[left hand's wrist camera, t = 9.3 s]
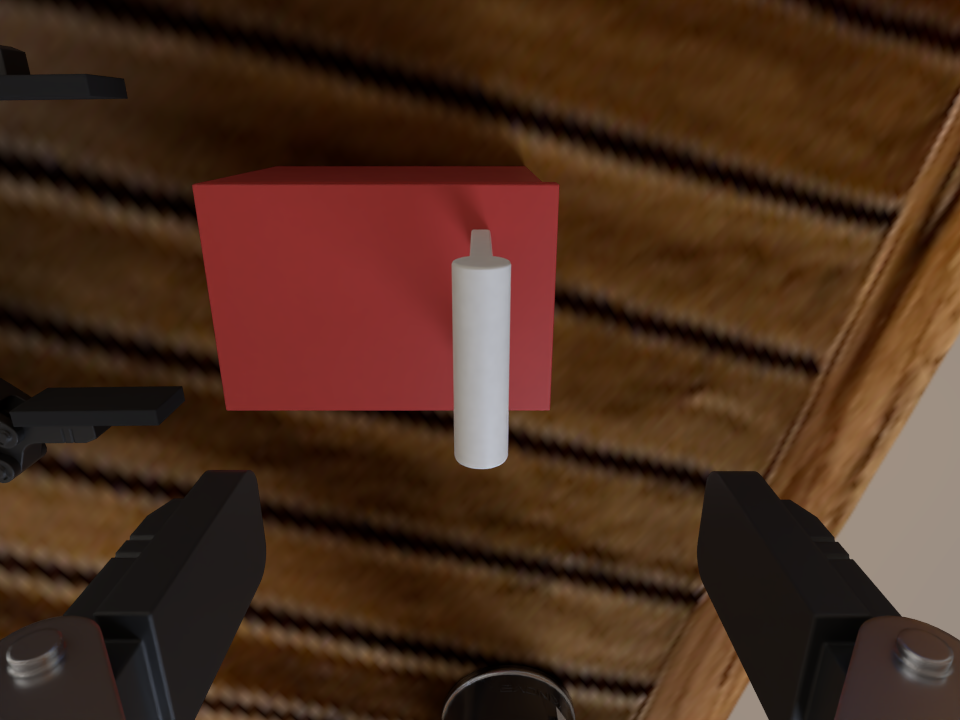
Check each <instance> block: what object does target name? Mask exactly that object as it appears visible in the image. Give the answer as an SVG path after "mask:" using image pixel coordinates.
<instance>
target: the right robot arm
mask: <svg viewBox="0 0 960 720" xmlns="http://www.w3.org/2000/svg"><path fill="white" fill-rule="evenodd" d="M60 99H128V98H127V92H126V87H125V82H124V79H122V78H114V77H106V76H98V75H90V74H50V75H30V71H29V67H28V63H27V58H26V54H25V52H23V51H20V50H18V49H15V48H13V47H8V46H2V45H0V100H60ZM184 401H185V398H184V393H183V388H182V386H169V387H83V388H47V389H45V390H44V391H42V392H40V393H39V394H37V395H35V396H34V397H30V396H29V395H27V394H25V393H24V392H22V391H21V390H19V389H17V388H16V387H14V386H13V385H11V384H10V383H8V382H6V381H5V380H3V379H2V378H0V482H1V483H7V482H10V481H11V480H13V479H14V478H15V477H17V476H18V475H19V474H21V473H22V472H23V471H24V470H26V469H27V468H28V467H30V466H31V465H32V464H34V463H35V462H36V461H38V460H39V459H40V458H41V457H43V456H44V455H45V454H46V452H47V447H46V445H45V443H65V442H66V443H73V442H75V443H87V442H89V441H92V440H94V439H96V438H98V437H99V436H100V435H101V434H102V433H104V432H105V431H106V430H107V429H109V428H110V427H111V426H134V425H160V424H161V423H162V422H163V421H164V420H165V419H166V418H167V417H168V416H169V415H170V414H171V413H172V412H173V411H174V410H175V409H176V408H178V407H179V406H180V405H181V404H182V403H183V402H184ZM8 417H9V418H8Z"/></svg>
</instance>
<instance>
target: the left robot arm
mask: <svg viewBox="0 0 960 720" xmlns="http://www.w3.org/2000/svg"><path fill="white" fill-rule="evenodd" d="M697 560H698V568H699V573H700V577H701V580H702V582H703V585H704V587H705V589H706V591H707V593H708V595H709V597H710V599H711V601H712V603H713V605H714V607H715V609H716V611H717V613H718V616H719V618H720V620H721V622H722V624H723V626H724V628H725V630H726V632H727V634H728V636H729V638H730V640H731V642H732V644H733V647H734V649H735V651H736V653H737V655H738V657H739V659H740V661H741V663H742V665H743V667H744V669H745V671H746V673H747V675H748V678H749V680H750V682H751V684H752V686H753V688H754V690H755V692H756V694H757V696H758V698H759V700H760V702H761V704H762V706H763V708H764V710H765V713H766V715H767V717H768V719H769V720H960V640H958V639H957V638H955V637H953V636H952V635H950V634H948V633H947V632H945V631H943V630H941V629H939V628H937V627H934V626H932V625H930V624H927V623H924V622H921V621H918V620H915V619H911V618H906V617H902V616H901V615H900V614H899V613H898V612H897V610H896V609H895V608H894V607H893V606H892V605H891V603H890V602H889V601H888V600H887V599H886V598H885V596H884V595H883V594H882V593H881V592H880V591H879V589H878V588H877V587H876V586H875V585H874V583H873V582H872V581H871V580H870V579H869V578H868V576H867V575H866V574H865V573H864V572H863V571H862V569H861V568H860V567H859V566H858V565H857V564H856V562H855V561H854V560H853V559H849V554H848V553H847V552H846V551H845V550H844V548H843V547H842V546H841V545H840V544H839V542H835V540H834V537H833V535H832V534H831V533H830V532H829V531H828V530H827V528H826V527H825V526H824V525H823V524H822V523H821V521H820V520H819V519H818V518H817V517H816V516H814V515H813V514H811V513H810V512H808V511H807V510H805V509H803V508H802V507H800V506H799V505H797V504H796V503H794V502H793V501H791V500H780V499H779V498H778V496H777V495H776V494H775V493H774V491H773V490H772V489H771V488H770V486H769V485H768V484H767V482H766V481H765V480H764V479H763V477H762V476H761V475H760V474H759V473H758V472H755V471H713V472H711V473H710V474H709V476H708V479H707V482H706V488H705V495H704V502H703V509H702V516H701V523H700V531H699V538H698V545H697ZM265 561H266V542H265V534H264V527H263V520H262V513H261V506H260V499H259V491H258V484H257V479H256V476H255V474H254V473H253V471H251V470H208V471H206V472H205V473H204V474H203V475H202V476H201V477H200V479H199V480H198V481H197V482H196V484H195V485H194V486H193V488H192V489H191V490H190V491H189V493H188V494H187V495H186V496H185V498H184V499H172V500H171V501H169V502H168V503H166V504H165V505H163V506H162V507H160V508H159V509H157V510H156V511H154V512H152V513H151V514H149V515H148V516H147V517H146V518H145V519H144V520H143V521H142V523H141V524H140V525H139V526H138V527H137V529H136V530H135V531H134V532H133V533H132V534H131V536H130V540H126V542H125V543H124V544H123V545H122V546H121V547H120V549H119V550H118V551H117V552H116V556H115V558H111V559H110V560H109V562H108V563H107V564H106V565H105V566H104V568H103V569H102V570H101V571H100V572H99V573H98V575H97V576H96V577H95V578H94V579H93V581H92V582H91V583H90V584H89V585H88V586H87V588H86V589H85V590H84V591H83V592H82V594H81V595H80V596H79V597H78V598H77V599H76V601H75V602H74V603H73V604H72V605H71V607H70V608H69V609H68V610H67V611H66V612H65V614H64V615H63V616H60V617H54V618H49V619H45V620H42V621H39V622H36V623H33V624H30V625H28V626H26V627H23V628H21V629H19V630H17V631H15V632H13V633H11V634H10V635H8V636H7V637H5V638H3V639H2V640H0V720H195V718H196V716H197V714H198V712H199V709H200V707H201V705H202V703H203V701H204V699H205V697H206V695H207V693H208V691H209V689H210V686H211V684H212V682H213V680H214V678H215V676H216V674H217V672H218V670H219V668H220V666H221V663H222V661H223V659H224V657H225V655H226V653H227V651H228V649H229V647H230V645H231V643H232V640H233V638H234V636H235V634H236V632H237V630H238V628H239V626H240V624H241V622H242V620H243V617H244V615H245V613H246V611H247V609H248V607H249V605H250V603H251V601H252V599H253V597H254V594H255V592H256V590H257V588H258V586H259V584H260V582H261V579H262V576H263V573H264V568H265ZM442 720H575V715H574V708H573V703H572V700H571V698H570V696H569V694H568V692H567V691H566V689H565V688H564V687H563V686H562V685H561V684H560V683H559V682H558V681H557V680H556V679H554V678H553V677H551V676H550V675H548V674H546V673H544V672H542V671H540V670H537V669H534V668H531V667H526V666H520V665H498V666H491V667H487V668H484V669H481V670H478V671H476V672H473V673H471V674H469V675H468V676H466V677H464V678H463V679H462V680H460V681H459V682H458V683H457V684H456V685H455V686H454V687H453V688H452V689H451V690H450V692H449V693H448V695H447V697H446V699H445V702H444V704H443V709H442Z"/></svg>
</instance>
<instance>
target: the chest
mask: <svg viewBox="0 0 960 720" xmlns="http://www.w3.org/2000/svg"><path fill="white" fill-rule="evenodd" d="M206 182H541V181H540V180H539V179H538V178H537V177H536V176H535V175H534V174H533V173H532V172H531V171H530V170H529V169H528V168H527V167H525V166H275V167H271V168H266V169H261V170H257V171H252V172H247V173H243V174H238V175H233V176H229V177H224V178H220V179H215V180H210V181H206Z"/></svg>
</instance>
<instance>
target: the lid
mask: <svg viewBox="0 0 960 720" xmlns="http://www.w3.org/2000/svg"><path fill="white" fill-rule="evenodd" d="M192 187H193V194H194V200H195V207H196V214H197V220H198V227H199V233H200V240H201V246H202V253H203V260H204V266H205V273H206V279H207V286H208V293H209V299H210V306H211V312H212V319H213V325H214V332H215V339H216V345H217V352H218V358H219V365H220V372H221V378H222V385H223V391H224V398H225V404H226V410H454V452H455V458H456V460H457V461H458V462H459V463H460V464H462V465H464V466H466V467H469V468H474V469H488V468H493V467H496V466H499V465H501V464H502V463H504V462H505V460H506V459H507V456H508V414H509V410H550V396H551V372H552V349H553V325H554V301H555V277H556V254H557V230H558V206H559V184H558V183H556V182H201V183H196V184H193V185H192Z"/></svg>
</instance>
